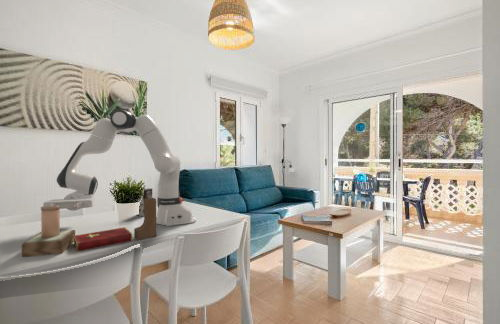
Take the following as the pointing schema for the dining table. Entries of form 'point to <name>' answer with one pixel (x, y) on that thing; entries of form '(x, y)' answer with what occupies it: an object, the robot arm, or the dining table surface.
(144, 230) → the wooden block
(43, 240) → the walnut pedestal
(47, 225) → the terracotta jar
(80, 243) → the hardcover book
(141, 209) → the coffee box
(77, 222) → the dining table surface
